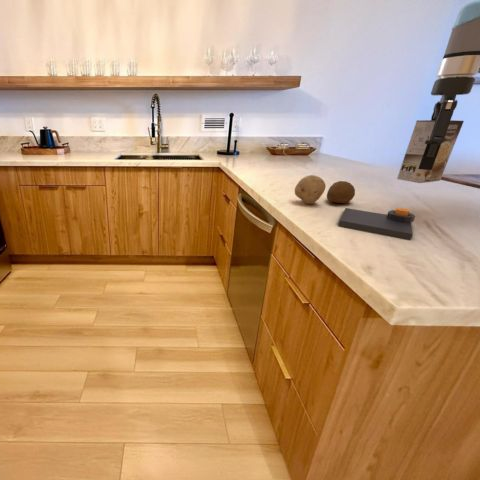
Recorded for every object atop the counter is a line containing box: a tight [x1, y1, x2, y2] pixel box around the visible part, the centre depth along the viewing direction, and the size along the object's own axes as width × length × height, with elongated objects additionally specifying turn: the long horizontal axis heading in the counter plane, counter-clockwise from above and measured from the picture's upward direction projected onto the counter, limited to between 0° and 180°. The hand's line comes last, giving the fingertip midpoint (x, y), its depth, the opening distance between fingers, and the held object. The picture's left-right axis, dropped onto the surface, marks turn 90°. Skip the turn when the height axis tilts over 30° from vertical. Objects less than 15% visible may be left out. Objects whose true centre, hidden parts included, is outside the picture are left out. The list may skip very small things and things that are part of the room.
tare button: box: [395, 207, 411, 216], centre depth 80 cm, size 3×3×2 cm
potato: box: [326, 180, 356, 204], centre depth 100 cm, size 8×12×8 cm, turn 139°
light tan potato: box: [294, 174, 326, 205], centre depth 98 cm, size 9×9×10 cm
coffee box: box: [396, 119, 465, 184], centre depth 80 cm, size 9×6×16 cm
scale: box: [337, 207, 416, 241], centre depth 81 cm, size 16×14×4 cm
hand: (423, 166), depth 81 cm, fingers closed on coffee box, 10 cm apart
